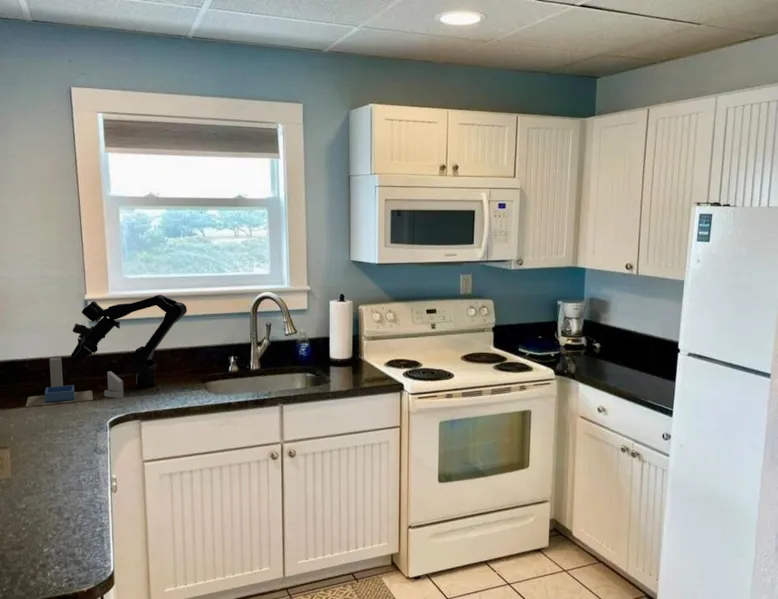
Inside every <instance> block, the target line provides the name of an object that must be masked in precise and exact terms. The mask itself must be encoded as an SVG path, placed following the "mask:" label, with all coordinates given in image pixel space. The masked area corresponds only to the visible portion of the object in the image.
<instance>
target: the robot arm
mask: <svg viewBox="0 0 778 599" xmlns="http://www.w3.org/2000/svg"><path fill="white" fill-rule="evenodd" d="M155 306H156V307H158V308H160V309H161V311H162V312H165V313H164V317H163V320H162V321H161V323H160V324H159V325H158V328H157V329H156V330H155V332H154V333H153V334H152V336H151V337H150V338H149V340H148V341H147V342H146V343H145V345H144V346H143V345H142V346H140V347H138V348H136V349H135V351H134V353H133V354H132V355H131V357H130V358H131V359H130V364H131V367H133V369H134V370H135V373H136V375H135V376H136V377H135V378H136V386H137V387H138V388H139V387H142V388H149V387H150V388H151V386H152V387H156V381H155V380H156V379H155V378H156V376H155V374H156V373H155V369H157V362H155V360H153V357H154V353H155V350H156V349H157V348H158V346H159V345H160V344H161V343H162V341H163V339H164V338H165V337H166V335H167V334H168V333H169V331H170V330H171V329H172V327H173V326H174V325H175V324H176V323H177V322H178V321H180V320H181V319H182V318H183V316H186V315H185V314H187V313H188V309H187V306H186V304H184V303H183V302H181V301H180V302H179V301H176V300H175V299H172V298H169V297H166V296H165V295H163V294H157V295H154V296H152V297H149V298H144V299H142V300H139V301H134V302H130V303H129V302H128V303H118V304H114V305H110V306H108V307H107V308H105V309H104V308H103V307H101V306H100V305H99V304H98V303H97V301H95V300H94V301H91V302H90V303H89V304H88V305H86V306H85V307H83V309H82V310H81V314H82V315H83V316H84V317H86V318H87V319H88V320H89V321H90V322H92V323H94V322H96V323H95V325H92V326H90V327H87V326H86V325H84V324H79V323H75V324H74V325H73V326H74V327H73V329H72V332H73V333H74V334H78V337H77V344H76V346H75V348H74V350H73V351H72V352H71V354H70V357H72V359H71V360H72V361H73V362H78V361H79V360H82V359H83V358H85V357H86V358H87V357H88V356H91V355H93V354H95V353H97V352H98V350H99V348H98V345H99V342H101V340H103V339H105V338H106V335H108V333H110V332H111V331H112V330H113V329H114V327H116V328H117V329H121V327H120V326H121V322H120V321H119V319H121V318H124V317H126V316H128V315H130V314H132V313H134V312H138V311H141V310H145V309H147V308H152V307H155ZM116 320H118V321H116Z"/></svg>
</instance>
